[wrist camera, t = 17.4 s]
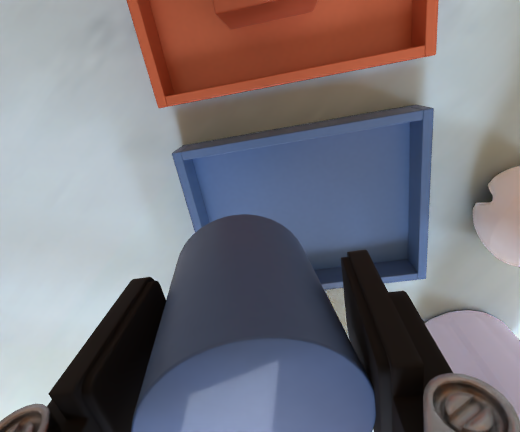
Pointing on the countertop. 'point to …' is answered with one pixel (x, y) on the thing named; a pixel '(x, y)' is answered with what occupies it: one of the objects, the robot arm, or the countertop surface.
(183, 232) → the countertop surface
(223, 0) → the block
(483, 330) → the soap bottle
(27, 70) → the countertop surface
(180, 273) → the blue cylinder
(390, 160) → the blue tray
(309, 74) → the terracotta tray
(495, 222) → the water bottle
